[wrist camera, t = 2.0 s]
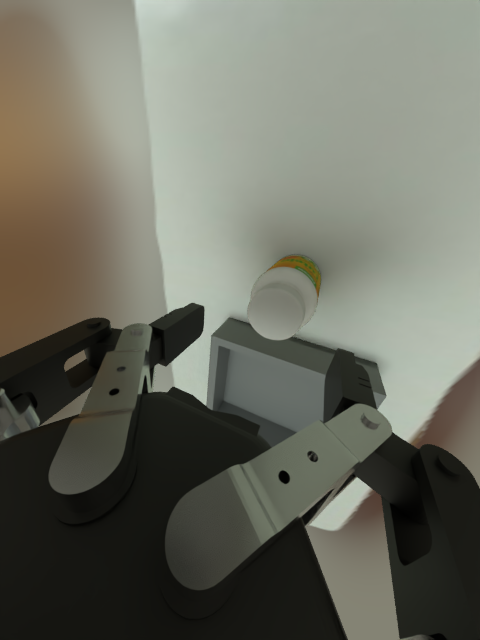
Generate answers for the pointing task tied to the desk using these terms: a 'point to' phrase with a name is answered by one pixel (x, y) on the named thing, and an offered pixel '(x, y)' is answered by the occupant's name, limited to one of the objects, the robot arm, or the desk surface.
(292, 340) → the tub
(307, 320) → the supplement bottle
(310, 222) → the desk surface
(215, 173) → the desk surface
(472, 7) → the desk surface
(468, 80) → the desk surface
